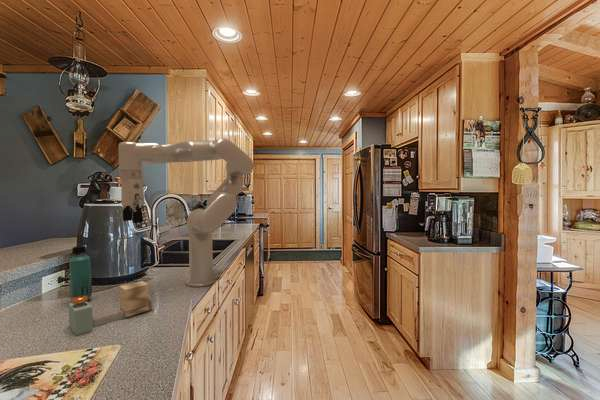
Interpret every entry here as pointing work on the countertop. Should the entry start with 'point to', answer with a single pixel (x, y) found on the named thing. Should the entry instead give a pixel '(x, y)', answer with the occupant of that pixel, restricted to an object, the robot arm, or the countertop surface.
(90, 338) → the countertop surface
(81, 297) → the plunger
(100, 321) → the rail
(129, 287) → the light wood block
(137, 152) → the robot arm
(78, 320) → the grey-green rectangular block
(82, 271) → the beverage bottle
